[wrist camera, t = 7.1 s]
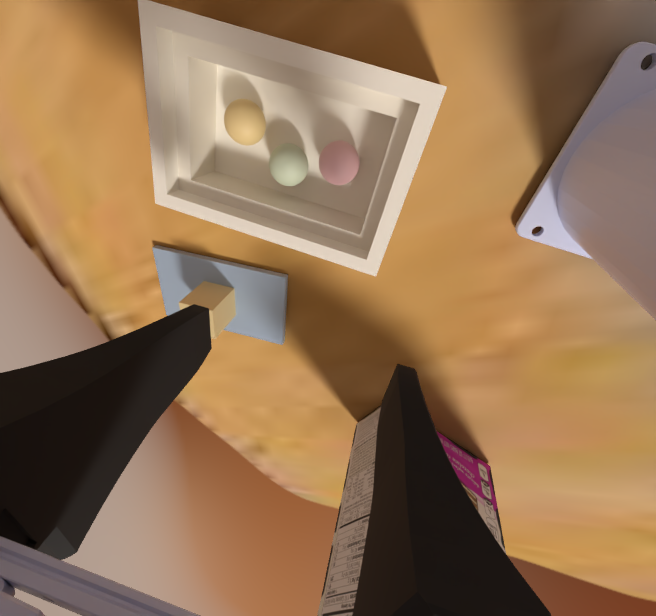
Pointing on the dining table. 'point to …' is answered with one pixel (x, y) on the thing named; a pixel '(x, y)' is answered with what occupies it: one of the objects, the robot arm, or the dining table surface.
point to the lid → (224, 293)
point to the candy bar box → (358, 505)
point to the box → (280, 135)
